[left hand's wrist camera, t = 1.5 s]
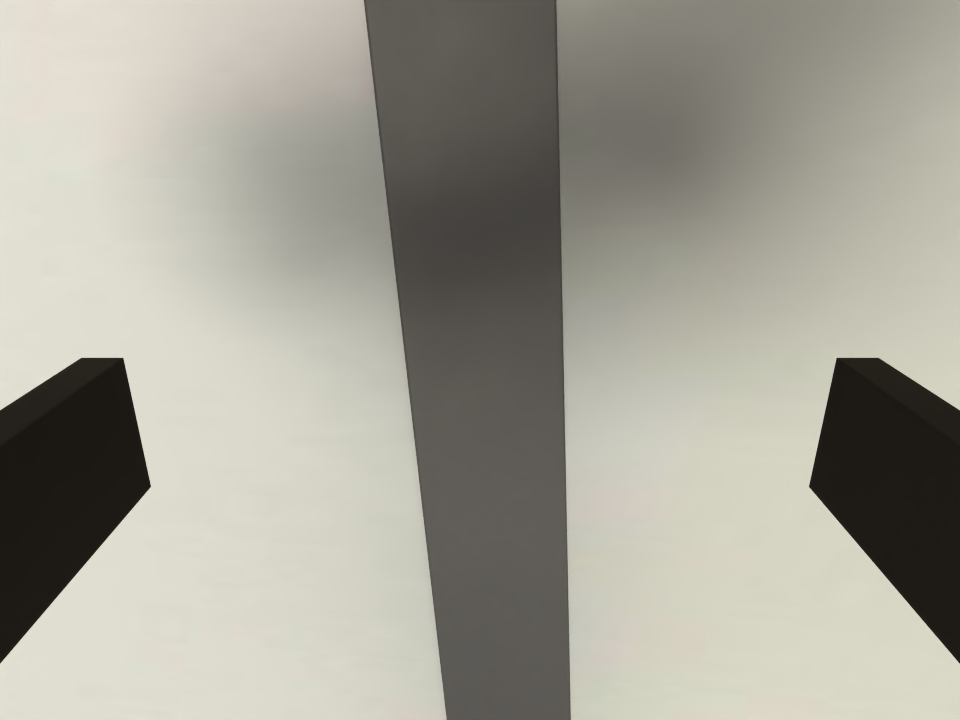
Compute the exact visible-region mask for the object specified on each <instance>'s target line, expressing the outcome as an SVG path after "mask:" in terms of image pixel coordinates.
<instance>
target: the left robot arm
mask: <svg viewBox="0 0 960 720" xmlns="http://www.w3.org/2000/svg"><path fill="white" fill-rule="evenodd" d="M150 487H151V485H150V480H149V476H148V471H147V466H146V462H145V457H144V452H143V448H142V443H141V438H140V434H139V429H138V424H137V420H136V415H135V411H134V406H133V401H132V397H131V392H130V387H129V383H128V378H127V373H126V369H125V364H124V359H123V358H81V359H79V360H78V361H76V362H75V363H73V364H71V365H70V366H68V367H67V368H65V369H64V370H62V371H61V372H59V373H58V374H56V375H54V376H53V377H51V378H50V379H48V380H47V381H45V382H44V383H42V384H40V385H39V386H37V387H36V388H34V389H33V390H31V391H30V392H28V393H27V394H25V395H23V396H22V397H20V398H19V399H17V400H16V401H14V402H13V403H11V404H10V405H8V406H6V407H5V408H3V409H2V410H0V663H1V662H2V661H3V660H4V658H5V657H6V656H7V655H8V654H9V653H10V651H11V650H12V649H13V648H14V647H15V646H16V644H17V643H18V642H19V641H20V640H21V638H22V637H23V636H24V635H25V634H26V633H27V631H28V630H29V629H30V628H31V627H32V626H33V624H34V623H35V622H36V621H37V620H38V619H39V617H40V616H41V615H42V614H43V613H44V611H45V610H46V609H47V608H48V607H49V606H50V604H51V603H52V602H53V601H54V600H55V599H56V597H57V596H58V595H59V594H60V593H61V592H62V590H63V589H64V588H65V587H66V586H67V585H68V583H69V582H70V581H71V580H72V579H73V577H74V576H75V575H76V574H77V573H78V572H79V570H80V569H81V568H82V567H83V566H84V565H85V563H86V562H87V561H88V560H89V559H90V558H91V556H92V555H93V554H94V553H95V552H96V550H97V549H98V548H99V547H100V546H101V545H102V543H103V542H104V541H105V540H106V539H107V538H108V536H109V535H110V534H111V533H112V532H113V531H114V529H115V528H116V527H117V526H118V525H119V524H120V522H121V521H122V520H123V519H124V518H125V516H126V515H127V514H128V513H129V512H130V511H131V509H132V508H133V507H134V506H135V505H136V504H137V502H138V501H139V500H140V499H141V498H142V497H143V495H144V494H145V493H146V492H147V491H148V489H149V488H150ZM809 487H810V488H811V489H812V491H813V492H814V493H815V494H816V495H817V497H818V498H819V499H820V500H821V501H822V502H823V504H824V505H825V506H826V507H827V508H828V509H829V511H830V512H831V513H832V514H833V515H834V516H835V518H836V519H837V520H838V521H839V522H840V524H841V525H842V526H843V527H844V528H845V529H846V531H847V532H848V533H849V534H850V535H851V536H852V538H853V539H854V540H855V541H856V542H857V543H858V545H859V546H860V547H861V548H862V549H863V550H864V552H865V553H866V554H867V555H868V556H869V558H870V559H871V560H872V561H873V562H874V563H875V565H876V566H877V567H878V568H879V569H880V570H881V572H882V573H883V574H884V575H885V576H886V577H887V579H888V580H889V581H890V582H891V583H892V585H893V586H894V587H895V588H896V589H897V590H898V592H899V593H900V594H901V595H902V596H903V597H904V599H905V600H906V601H907V602H908V603H909V604H910V606H911V607H912V608H913V609H914V610H915V611H916V613H917V614H918V615H919V616H920V617H921V619H922V620H923V621H924V622H925V623H926V624H927V626H928V627H929V628H930V629H931V630H932V631H933V633H934V634H935V635H936V636H937V637H938V638H939V640H940V641H941V642H942V643H943V644H944V646H945V647H946V648H947V649H948V650H949V651H950V653H951V654H952V655H953V656H954V657H955V658H956V660H957V661H958V662H959V663H960V410H958V409H957V408H955V407H954V406H952V405H950V404H949V403H947V402H946V401H944V400H943V399H941V398H940V397H938V396H937V395H935V394H933V393H932V392H930V391H929V390H927V389H926V388H924V387H923V386H921V385H920V384H918V383H916V382H915V381H913V380H912V379H910V378H909V377H907V376H906V375H904V374H902V373H901V372H899V371H898V370H896V369H895V368H893V367H892V366H890V365H889V364H887V363H885V362H884V361H882V360H881V359H879V358H837V359H836V364H835V369H834V373H833V378H832V383H831V387H830V392H829V397H828V401H827V406H826V411H825V415H824V420H823V424H822V429H821V434H820V438H819V443H818V448H817V452H816V457H815V462H814V466H813V471H812V476H811V480H810V485H809Z"/></svg>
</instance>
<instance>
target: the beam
mask: <svg viewBox="0 0 960 720" xmlns="http://www.w3.org/2000/svg"><path fill="white" fill-rule="evenodd" d="M364 5H365V14H366V22H367V31H368V40H369V48H370V57H371V66H372V74H373V83H374V92H375V100H376V109H377V118H378V126H379V135H380V144H381V152H382V161H383V170H384V178H385V187H386V196H387V204H388V213H389V222H390V230H391V239H392V248H393V256H394V265H395V274H396V282H397V291H398V300H399V308H400V317H401V326H402V334H403V343H404V352H405V361H406V369H407V378H408V387H409V395H410V404H411V413H412V421H413V430H414V439H415V447H416V456H417V465H418V473H419V482H420V491H421V499H422V508H423V517H424V525H425V534H426V543H427V551H428V560H429V569H430V577H431V586H432V595H433V603H434V612H435V621H436V629H437V638H438V647H439V655H440V664H441V673H442V681H443V690H444V699H445V707H446V716H447V720H571V712H570V662H569V612H568V562H567V512H566V462H565V412H564V362H563V312H562V262H561V212H560V162H559V113H558V63H557V13H556V0H364Z"/></svg>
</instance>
